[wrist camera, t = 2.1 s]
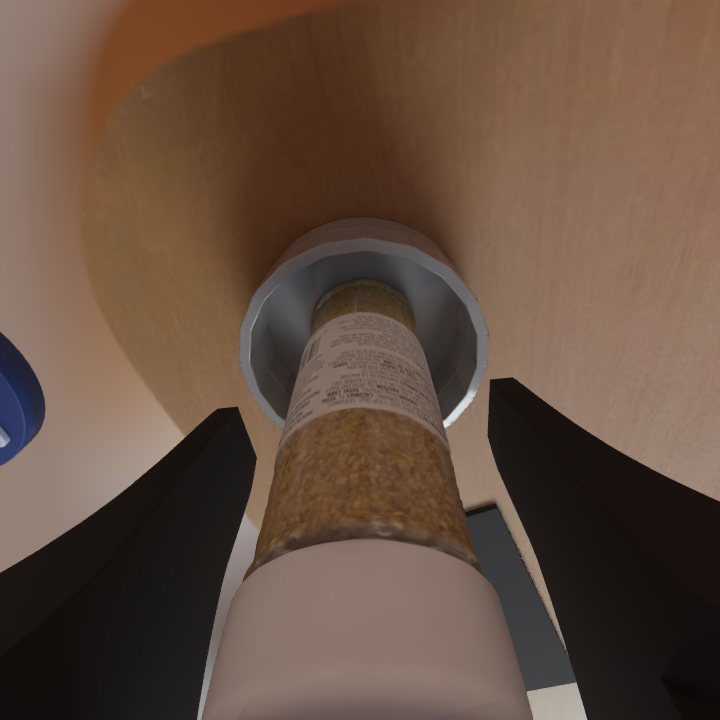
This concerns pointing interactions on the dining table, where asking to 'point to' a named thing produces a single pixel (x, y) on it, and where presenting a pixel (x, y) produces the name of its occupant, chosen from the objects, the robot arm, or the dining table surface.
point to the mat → (519, 602)
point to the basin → (373, 262)
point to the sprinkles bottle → (365, 547)
